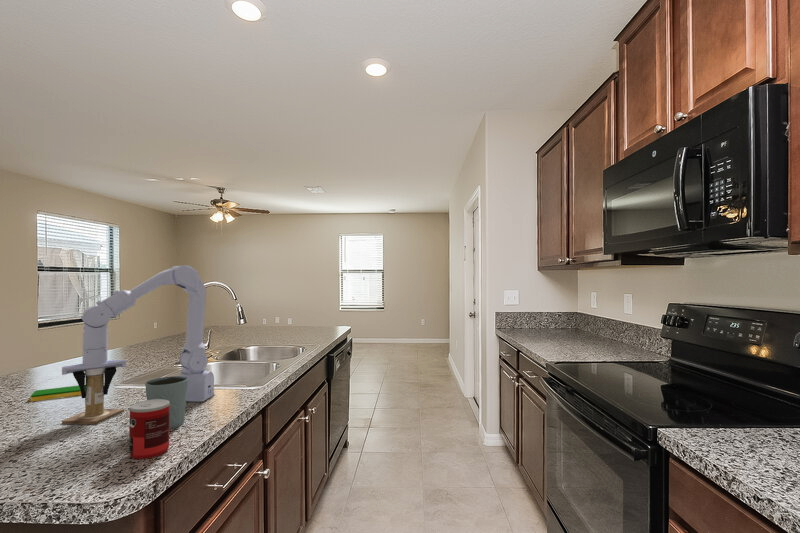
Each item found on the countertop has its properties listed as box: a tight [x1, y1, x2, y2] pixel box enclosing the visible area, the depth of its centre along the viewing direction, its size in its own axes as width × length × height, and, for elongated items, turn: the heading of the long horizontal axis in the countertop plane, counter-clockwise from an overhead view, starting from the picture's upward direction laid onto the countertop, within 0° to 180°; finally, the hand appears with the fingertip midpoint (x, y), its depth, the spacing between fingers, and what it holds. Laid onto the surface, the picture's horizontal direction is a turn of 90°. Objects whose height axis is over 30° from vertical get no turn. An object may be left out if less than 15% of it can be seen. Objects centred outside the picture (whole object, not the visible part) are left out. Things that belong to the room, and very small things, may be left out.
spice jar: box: [84, 367, 105, 417], centre depth 115 cm, size 5×5×14 cm
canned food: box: [128, 399, 170, 460], centre depth 92 cm, size 8×8×11 cm
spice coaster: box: [61, 408, 125, 425], centre depth 115 cm, size 10×10×1 cm
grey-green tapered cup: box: [144, 375, 188, 430], centre depth 110 cm, size 10×10×12 cm
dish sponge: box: [30, 385, 81, 403], centre depth 136 cm, size 7×14×2 cm, turn 122°
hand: (94, 395), depth 115 cm, fingers open, 4 cm apart
